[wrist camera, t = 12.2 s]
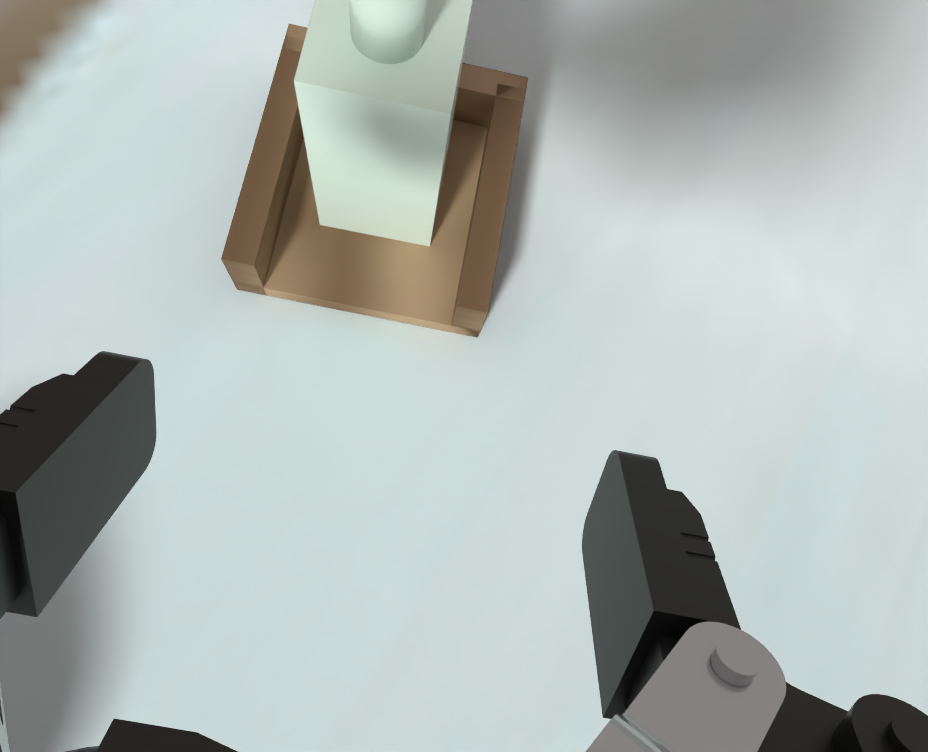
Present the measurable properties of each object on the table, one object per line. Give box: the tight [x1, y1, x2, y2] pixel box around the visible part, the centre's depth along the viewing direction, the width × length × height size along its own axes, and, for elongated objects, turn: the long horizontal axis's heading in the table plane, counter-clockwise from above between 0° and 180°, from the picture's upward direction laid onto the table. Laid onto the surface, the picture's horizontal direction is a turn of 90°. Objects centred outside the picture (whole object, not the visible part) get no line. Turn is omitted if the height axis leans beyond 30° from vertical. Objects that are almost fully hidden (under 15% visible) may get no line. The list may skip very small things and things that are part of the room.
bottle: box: [294, 0, 473, 246], centre depth 24 cm, size 5×5×12 cm
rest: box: [221, 24, 528, 337], centre depth 29 cm, size 10×11×3 cm
